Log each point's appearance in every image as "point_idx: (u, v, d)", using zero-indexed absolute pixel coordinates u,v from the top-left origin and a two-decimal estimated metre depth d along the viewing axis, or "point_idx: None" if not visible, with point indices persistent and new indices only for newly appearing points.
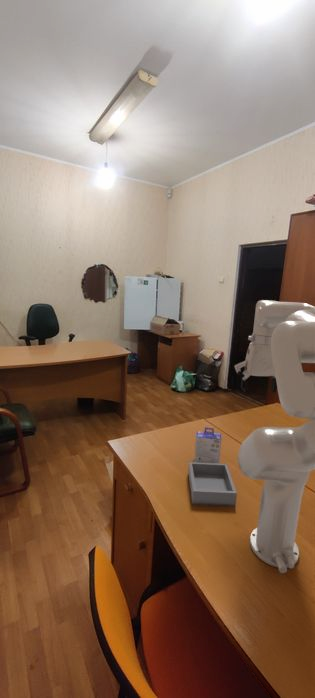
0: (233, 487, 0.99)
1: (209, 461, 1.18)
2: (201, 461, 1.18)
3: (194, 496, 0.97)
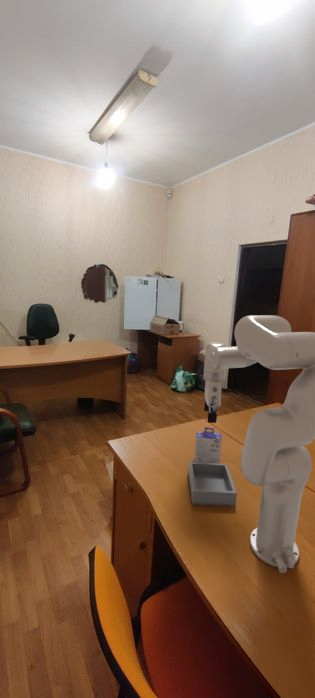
0: (233, 487, 0.99)
1: (209, 461, 1.18)
2: (201, 461, 1.18)
3: (194, 496, 0.97)
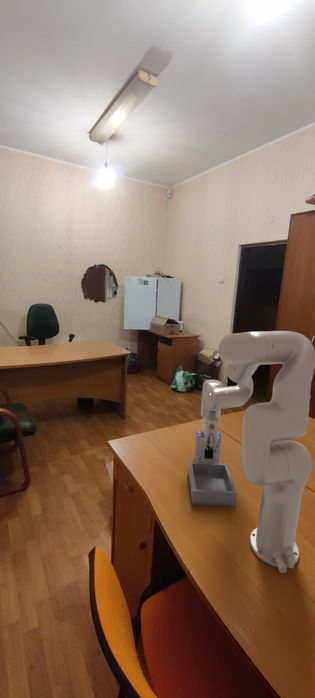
0: (233, 487, 0.99)
1: (209, 461, 1.18)
2: (201, 461, 1.18)
3: (194, 496, 0.97)
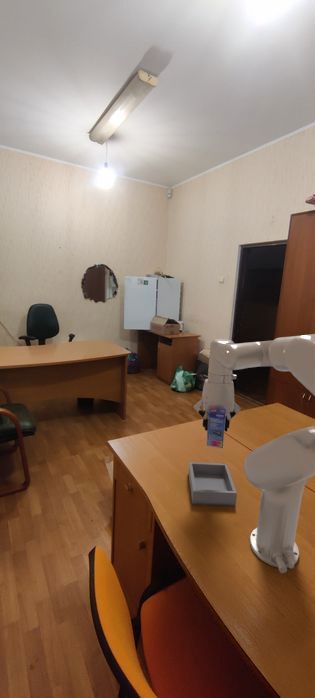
0: (233, 487, 0.99)
1: None
2: None
3: (194, 496, 0.97)
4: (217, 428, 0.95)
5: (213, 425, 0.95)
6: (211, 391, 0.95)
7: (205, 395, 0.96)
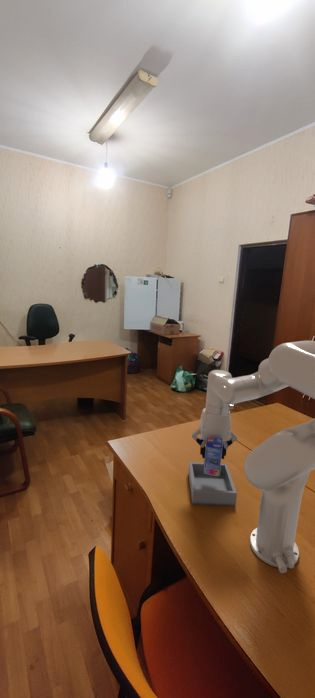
0: (233, 487, 0.99)
1: None
2: None
3: (194, 496, 0.97)
4: (214, 458, 0.97)
5: (211, 454, 0.97)
6: (208, 421, 0.97)
7: (203, 425, 0.98)
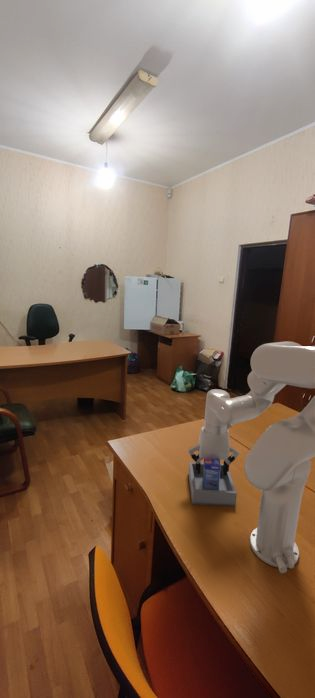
0: (233, 487, 0.99)
1: None
2: None
3: (194, 496, 0.97)
4: (212, 479, 0.99)
5: (209, 476, 0.99)
6: (207, 440, 0.99)
7: (201, 443, 0.99)
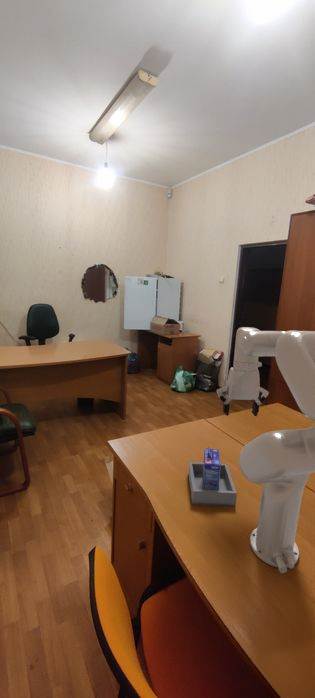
0: (233, 487, 0.99)
1: None
2: None
3: (194, 496, 0.97)
4: (212, 479, 0.99)
5: (209, 476, 0.99)
6: (237, 378, 0.96)
7: (231, 383, 0.97)
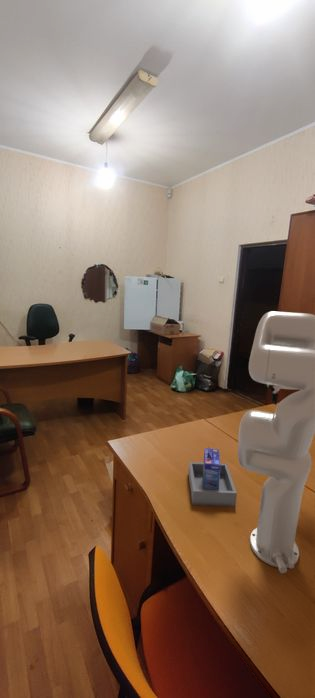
0: (233, 487, 0.99)
1: None
2: None
3: (194, 496, 0.97)
4: (212, 479, 0.99)
5: (209, 476, 0.99)
6: None
7: None
